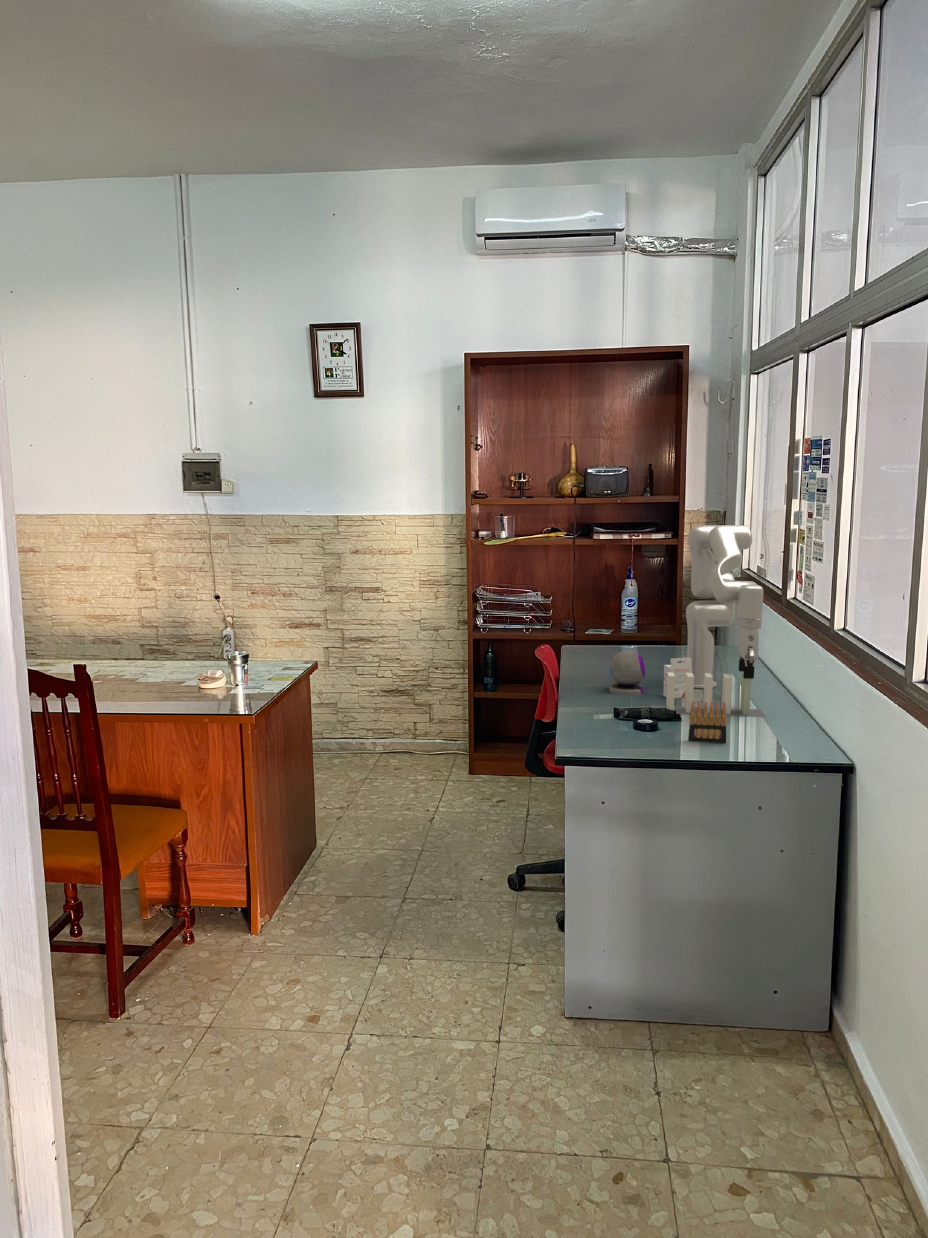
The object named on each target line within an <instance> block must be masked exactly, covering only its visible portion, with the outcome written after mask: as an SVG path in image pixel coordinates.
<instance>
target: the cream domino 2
mask: <svg viewBox="0 0 928 1238" xmlns="http://www.w3.org/2000/svg"><path fill="white" fill-rule="evenodd" d="M694 689H695V688H694V676H693V674H692V673H686V683H685V698H684V707H685V711H686V713H691V705H692V702H693V701H694V691H695V690H694Z"/></svg>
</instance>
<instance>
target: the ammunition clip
mask: <svg viewBox="0 0 928 1238" xmlns="http://www.w3.org/2000/svg"><path fill="white" fill-rule="evenodd" d="M695 703H696V702H695V701H694V700H693V702H692V705H691V713H690V714H689V728H688V742H692V743H693V742H694V743H695V742H696V743H713V744H714V743H715V744H717V743H718V744H727V720H728V717H727V716H726V704H725V702H724V703H723V707H722V706H721V705H720V702H719V701H718V702H717V703H716V706H714V703H713V701H712V702H711V705H710V711H709V715H708V706H707V702H705V704H704V709H703V715H702V714H701V707H702V702H701V701H700V700H699V701H698V703H697V706H696V704H695ZM695 707H697V714H696V715H695ZM714 708H716V713H715V715H714ZM720 708H722V715H720Z"/></svg>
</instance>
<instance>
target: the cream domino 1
mask: <svg viewBox="0 0 928 1238" xmlns="http://www.w3.org/2000/svg"><path fill="white" fill-rule="evenodd" d="M674 693H675V675H674V672H667V697H666V699H665V700H666V701H665V702H666V705H665V706H666V708H667V709H670V710H673V711H674V706H675V698H674Z"/></svg>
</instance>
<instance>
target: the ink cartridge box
mask: <svg viewBox="0 0 928 1238" xmlns="http://www.w3.org/2000/svg"><path fill="white" fill-rule="evenodd" d="M691 665H692V663H691V658H687V657H679V658H677V657H676V658H670V664H663V695H662V696H664V697H667V672H674V675H675V693H674V699H685V683H686V673H692V666H691Z"/></svg>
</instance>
